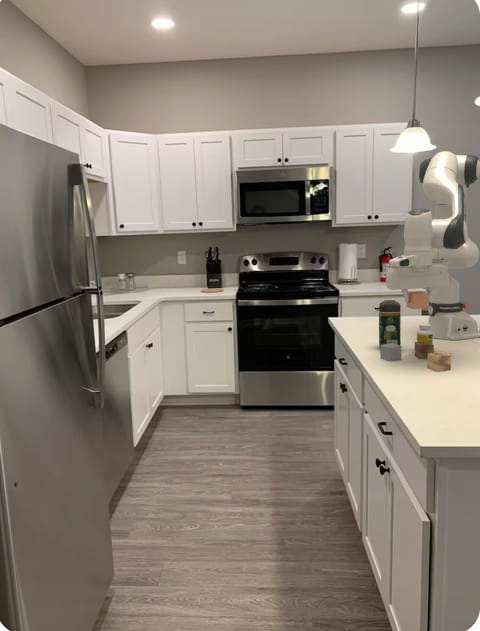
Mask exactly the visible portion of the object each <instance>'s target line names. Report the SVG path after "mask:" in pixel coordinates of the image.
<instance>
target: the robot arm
mask: <svg viewBox="0 0 480 631" xmlns="http://www.w3.org/2000/svg"><path fill="white" fill-rule="evenodd" d="M479 176H480V158H479V157H478V156H477V155H474V154H466V155H464V154H462V155H460V154H455V153H453V152H451V151H447V150H446V151H445V150H444V151H443V150H442V151H439V152H437V153H436V154H435V155H433V157H431V158H429V157H428V158H427V159H424V160H423V161H422V162H421V163H420V165H419V167H418V178H419V183H421V184H422V191H423V193H424V195H425V197H427V198H428V199H429V200H431V201H432V202H435V206H434V213H433V214H434V216H433V214H432V211H431V210H430V209H426V208H420V209H412V210H410V211H408V212H407V213H406V214H405V218H404V228H403V240H404V248H403V254H401V255H399V256H397V257H394V258H391V259H389V260H388V266H390V267H389V268H388V269H387V272H386V278H385V286H386V289H388V290H391V291H393V290H394V291H396V290H398V291H399V290H400V292H401V294H402V296H403V297H404V303H406V304H407V303H408V302H411V297H408V295H407V292H409V290H410V289H411V290H414V289H426V291H427V292H426V293H428V315H429V316H428V321H427V324H430V325H431V329H430V330H431V331H432V332H433V339H440V340H441V339H443V340H450V341H458V340H468V339H474V338H475V339H476V338H480V330H479V326H478V322H477V320H476V319H475V318H473V317H472V315H471V316H470V314H468V313H467V312H465V311H464V309H468V308H469V304H468V303H466V302H461V301H460V289H461V288H460V283H459V281H458V280H457V279H455V278H454V277H452V276H451V275H450V273H449V269H456V270H461V269H466V268H471V267H472V268H473V267H474V266H475V265H476V264H477V263H478V260H479V257H480V250H479V248H478V246H477V244H476V243H475V242H473V241H472V240H471V239H470V237H469V236H468V234H469V233H468V227H467V226H468V225H467V219H466V215H467V214H466V189H468V188H470V186H471V185H473V184H474V183H475V182H476V181H477V180H478V179H479ZM465 185H466V186H465Z"/></svg>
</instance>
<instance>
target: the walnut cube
mask: <svg viewBox="0 0 480 631" xmlns="http://www.w3.org/2000/svg"><path fill="white" fill-rule="evenodd" d="M434 347H435V345H434V344H433V343H431V342H417V341H414V356H415V358H417V359H418V360H425V359H426V360H427V358H428V353H434V352H435V351H434V350H435V348H434Z"/></svg>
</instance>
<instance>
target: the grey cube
mask: <svg viewBox="0 0 480 631" xmlns="http://www.w3.org/2000/svg"><path fill="white" fill-rule="evenodd" d="M380 359H381V360H383V361H386V362H396V361H402V345H396V344H393V343H391V344H384V345H381V349H380Z"/></svg>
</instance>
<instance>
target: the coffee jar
mask: <svg viewBox="0 0 480 631" xmlns="http://www.w3.org/2000/svg"><path fill="white" fill-rule="evenodd" d="M401 307H402V306H401V303H400V302H398V301H396V300H395V299H387V300H386V299H385V300H383V301H382V302H380V303H379V304H378V347H379V350H381V345H384V344H391V343H393V344H396V345H400V346H402V345H401V342H402V341H401V329H402V328H401V325H402V324H401V321H402V320H401V313H402V312H401Z"/></svg>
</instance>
